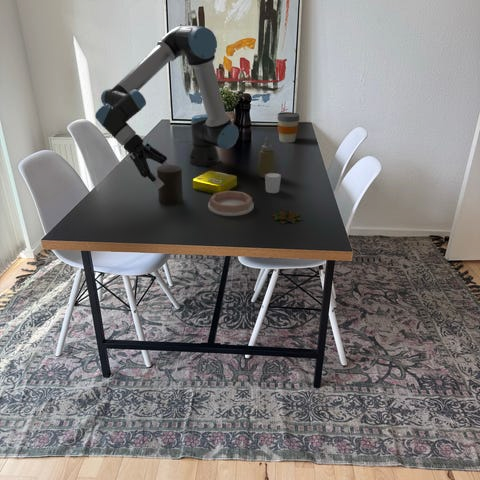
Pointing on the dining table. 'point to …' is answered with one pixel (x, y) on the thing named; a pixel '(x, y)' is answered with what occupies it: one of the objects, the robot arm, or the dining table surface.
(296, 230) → the dining table surface
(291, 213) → the succulent plant
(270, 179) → the shot glass
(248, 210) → the pink round shallow dish
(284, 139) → the reusable coffee cup
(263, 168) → the squeeze bottle
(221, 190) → the yellow square box
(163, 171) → the pillar candle
